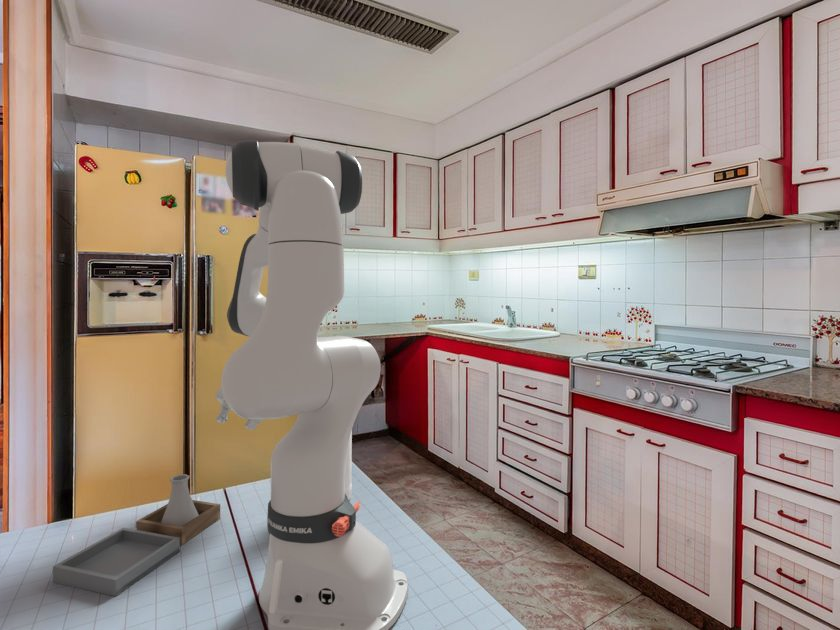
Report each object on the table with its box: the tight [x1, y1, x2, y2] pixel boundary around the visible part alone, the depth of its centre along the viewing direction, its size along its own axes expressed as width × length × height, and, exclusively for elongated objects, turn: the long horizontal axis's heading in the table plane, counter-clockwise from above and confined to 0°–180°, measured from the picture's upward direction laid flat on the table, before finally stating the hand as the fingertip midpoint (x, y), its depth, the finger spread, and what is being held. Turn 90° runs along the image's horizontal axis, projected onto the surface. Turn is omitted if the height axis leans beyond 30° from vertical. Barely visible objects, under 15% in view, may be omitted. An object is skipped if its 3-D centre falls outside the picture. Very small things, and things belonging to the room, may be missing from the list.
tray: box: [52, 527, 181, 597], centre depth 75 cm, size 12×12×2 cm
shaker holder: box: [135, 499, 221, 546], centre depth 88 cm, size 10×10×3 cm
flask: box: [161, 473, 199, 526], centre depth 87 cm, size 7×7×10 cm
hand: (233, 425), depth 97 cm, fingers open, 8 cm apart
